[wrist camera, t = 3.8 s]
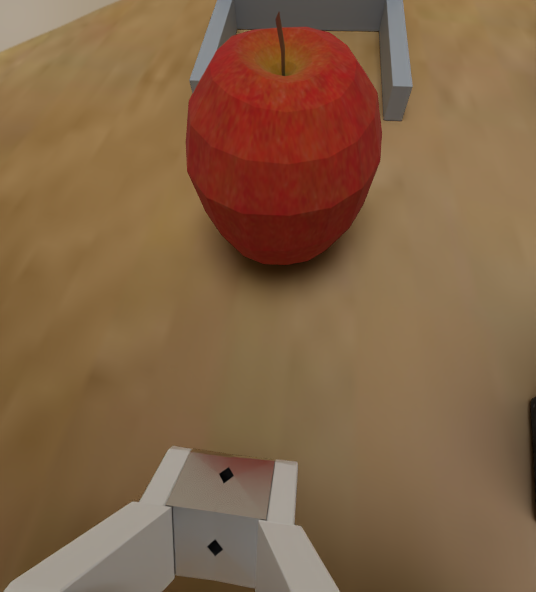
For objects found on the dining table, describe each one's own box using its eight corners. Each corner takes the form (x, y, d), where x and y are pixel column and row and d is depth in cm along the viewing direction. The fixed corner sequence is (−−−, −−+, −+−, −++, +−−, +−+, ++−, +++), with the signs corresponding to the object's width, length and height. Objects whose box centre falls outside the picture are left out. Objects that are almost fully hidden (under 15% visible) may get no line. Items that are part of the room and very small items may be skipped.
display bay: (197, 113, 33) (180, 40, 27) (225, 21, 40) (216, -51, 34) (401, 120, 31) (425, 45, 26) (393, 23, 38) (410, -52, 33)
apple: (263, 328, 23) (238, 141, 10) (186, 225, 27) (101, 3, 14) (385, 246, 25) (484, 17, 13) (298, 164, 29) (308, -71, 17)
